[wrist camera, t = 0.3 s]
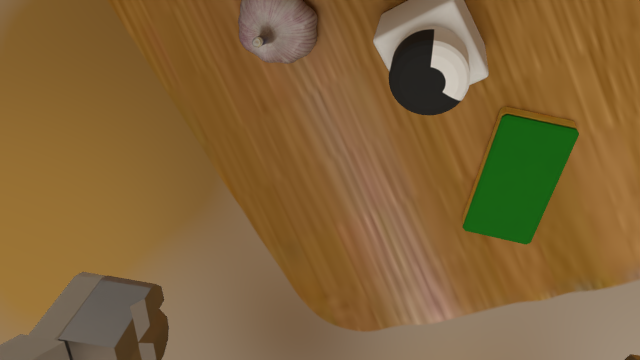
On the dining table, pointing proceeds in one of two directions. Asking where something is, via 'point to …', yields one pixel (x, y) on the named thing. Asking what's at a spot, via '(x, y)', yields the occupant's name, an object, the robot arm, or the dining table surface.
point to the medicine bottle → (431, 53)
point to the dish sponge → (518, 174)
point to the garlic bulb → (277, 29)
